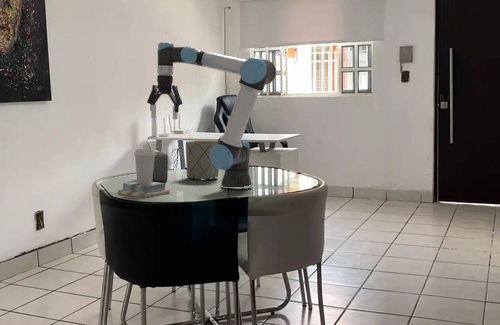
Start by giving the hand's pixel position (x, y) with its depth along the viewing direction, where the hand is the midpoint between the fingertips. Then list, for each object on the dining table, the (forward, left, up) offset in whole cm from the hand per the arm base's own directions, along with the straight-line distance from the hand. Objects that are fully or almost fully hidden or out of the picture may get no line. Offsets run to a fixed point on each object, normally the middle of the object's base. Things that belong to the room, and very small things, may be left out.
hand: (164, 118), depth 279 cm
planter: (-1, -32, -33) cm, 46 cm away
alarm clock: (+13, -8, -33) cm, 36 cm away
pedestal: (-12, +27, -33) cm, 44 cm away
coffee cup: (-12, +27, -28) cm, 41 cm away
